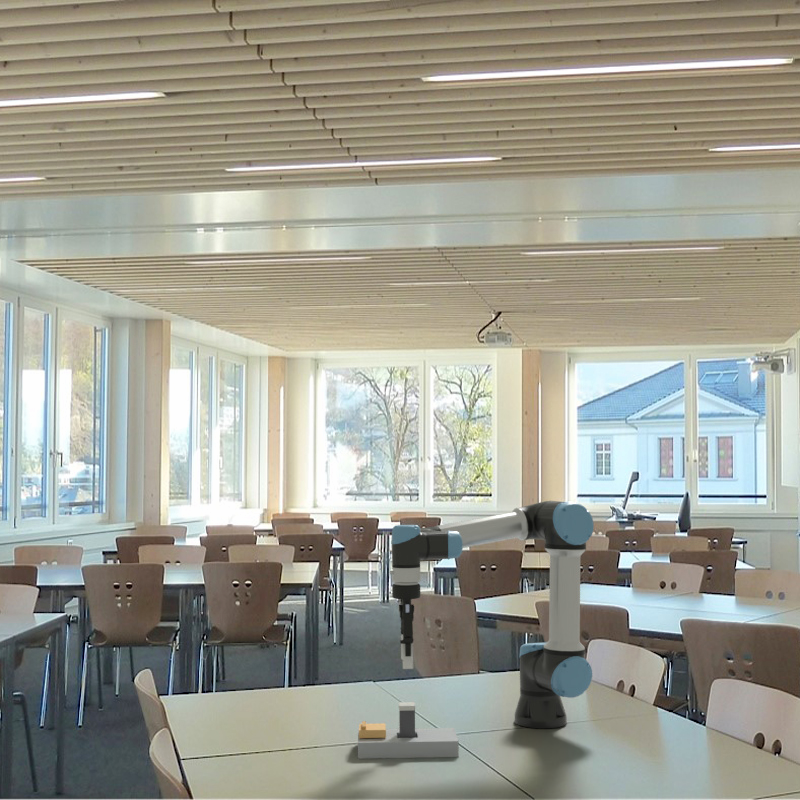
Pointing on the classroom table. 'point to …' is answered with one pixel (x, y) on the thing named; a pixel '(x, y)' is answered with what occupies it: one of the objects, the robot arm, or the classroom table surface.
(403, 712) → the plug
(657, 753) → the classroom table surface
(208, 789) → the classroom table surface
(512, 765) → the classroom table surface
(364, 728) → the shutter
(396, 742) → the socket board
